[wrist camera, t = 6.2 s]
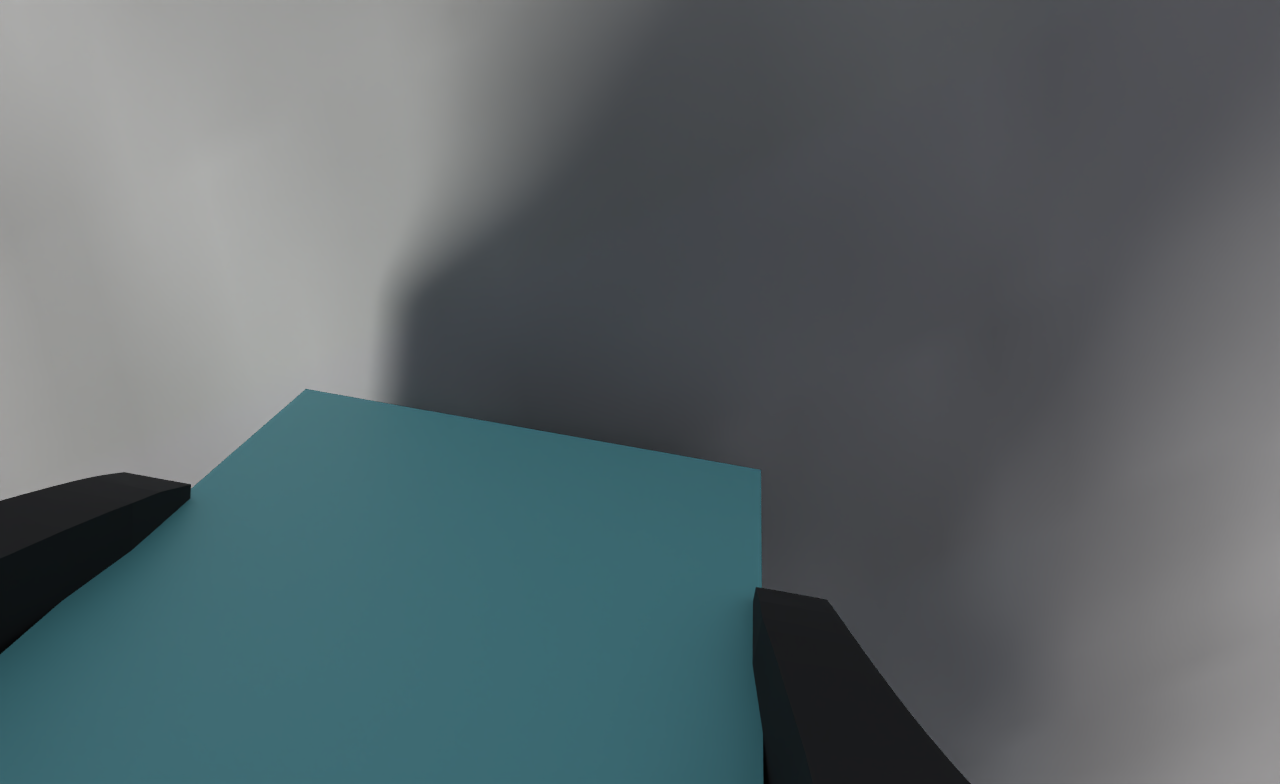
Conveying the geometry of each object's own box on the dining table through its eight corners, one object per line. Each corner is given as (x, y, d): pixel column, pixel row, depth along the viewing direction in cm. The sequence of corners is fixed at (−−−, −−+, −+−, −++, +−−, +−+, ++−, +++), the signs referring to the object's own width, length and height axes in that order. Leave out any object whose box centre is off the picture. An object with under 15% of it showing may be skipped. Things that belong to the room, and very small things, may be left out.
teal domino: (305, 389, 13) (-571, 1150, 4) (760, 469, 13) (767, 1433, 4) (296, 537, 13) (-492, 1461, 5) (731, 616, 13) (684, 1722, 5)
